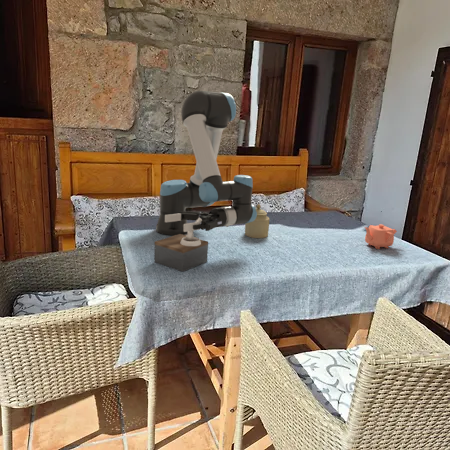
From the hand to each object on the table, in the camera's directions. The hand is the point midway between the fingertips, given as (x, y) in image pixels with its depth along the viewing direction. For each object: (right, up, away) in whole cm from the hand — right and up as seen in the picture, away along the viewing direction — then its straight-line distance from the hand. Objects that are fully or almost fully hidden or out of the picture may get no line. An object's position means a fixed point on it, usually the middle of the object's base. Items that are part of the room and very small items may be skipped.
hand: (174, 223), depth 152 cm
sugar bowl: (+32, -5, +47) cm, 57 cm away
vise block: (+2, -15, +6) cm, 16 cm away
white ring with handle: (+6, -8, +3) cm, 10 cm away
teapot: (+87, -11, +38) cm, 96 cm away
